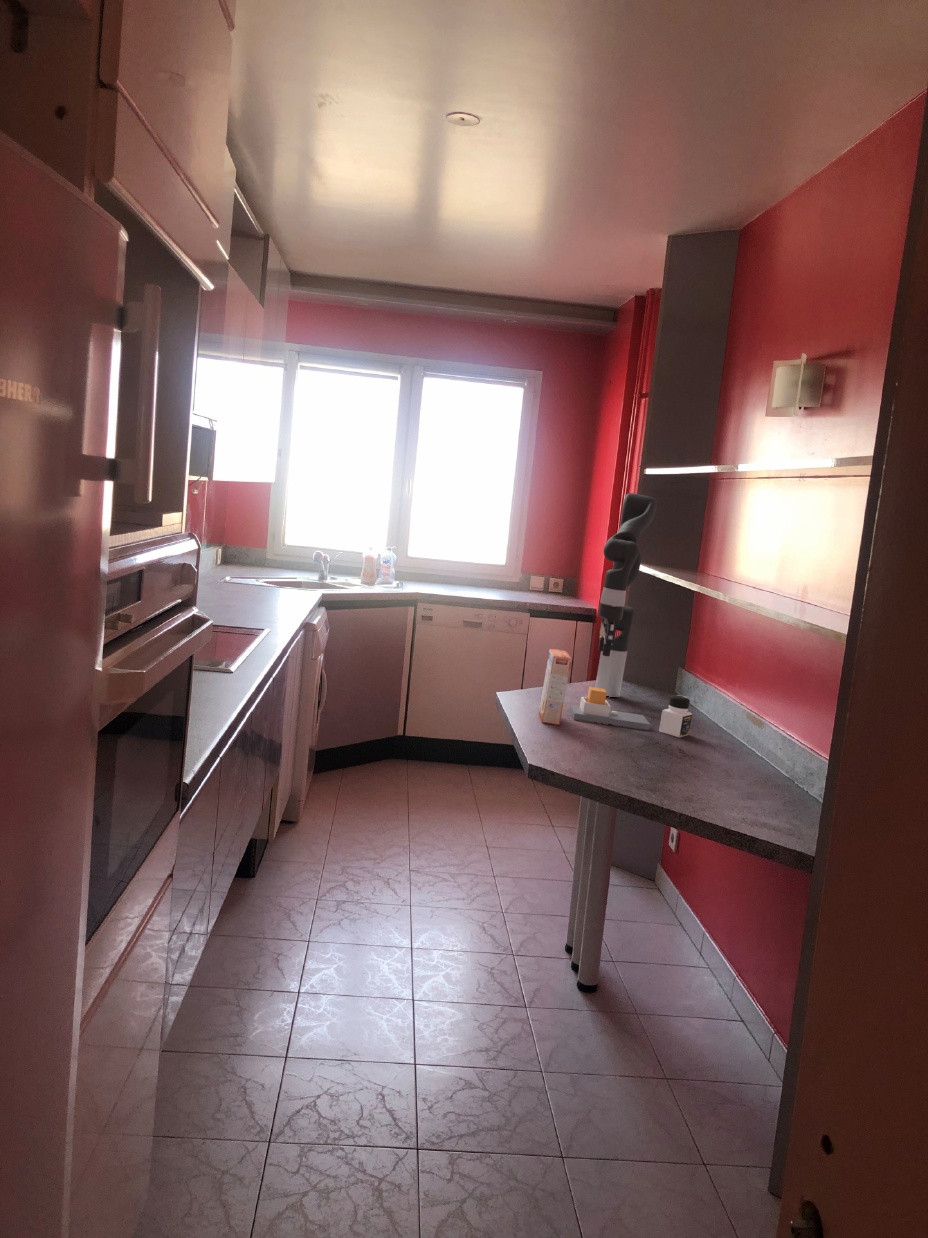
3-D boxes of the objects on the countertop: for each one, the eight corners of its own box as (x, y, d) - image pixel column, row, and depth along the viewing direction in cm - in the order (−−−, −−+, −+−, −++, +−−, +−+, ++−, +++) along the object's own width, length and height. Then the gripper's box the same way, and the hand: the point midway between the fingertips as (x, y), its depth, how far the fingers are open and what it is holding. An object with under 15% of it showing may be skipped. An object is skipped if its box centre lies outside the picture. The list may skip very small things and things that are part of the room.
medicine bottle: (679, 737, 277) (686, 700, 276) (658, 731, 282) (665, 694, 280) (688, 735, 283) (695, 698, 282) (667, 729, 287) (674, 692, 286)
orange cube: (586, 701, 289) (589, 686, 288) (601, 704, 289) (604, 689, 288) (588, 705, 284) (591, 690, 283) (604, 707, 284) (606, 692, 283)
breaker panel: (569, 710, 293) (571, 694, 292) (641, 721, 293) (644, 704, 292) (573, 719, 281) (576, 702, 280) (649, 730, 281) (652, 713, 281)
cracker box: (561, 726, 270) (572, 658, 267) (541, 723, 270) (552, 655, 267) (557, 715, 284) (568, 650, 281) (538, 712, 284) (548, 647, 281)
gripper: (597, 598, 289) (588, 648, 291) (603, 604, 275) (595, 656, 277) (620, 602, 289) (611, 651, 291) (628, 607, 275) (619, 659, 277)
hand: (603, 653), depth 284 cm, fingers open, 8 cm apart
